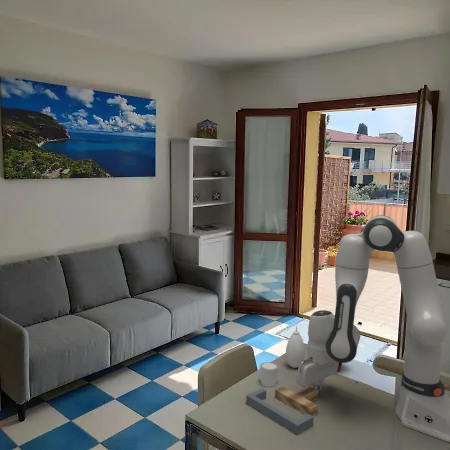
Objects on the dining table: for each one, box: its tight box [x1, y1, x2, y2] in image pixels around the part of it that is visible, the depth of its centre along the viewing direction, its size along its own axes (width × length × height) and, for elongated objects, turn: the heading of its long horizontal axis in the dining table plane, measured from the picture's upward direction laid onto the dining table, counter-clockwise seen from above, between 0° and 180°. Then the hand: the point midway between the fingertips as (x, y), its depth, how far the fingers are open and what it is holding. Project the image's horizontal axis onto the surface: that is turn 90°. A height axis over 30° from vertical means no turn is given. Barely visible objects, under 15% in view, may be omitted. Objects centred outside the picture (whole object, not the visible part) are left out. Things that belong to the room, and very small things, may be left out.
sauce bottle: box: [285, 325, 306, 369], centre depth 179 cm, size 8×8×18 cm
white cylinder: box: [259, 361, 279, 387], centre depth 165 cm, size 7×7×7 cm
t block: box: [274, 385, 319, 417], centre depth 153 cm, size 16×12×3 cm
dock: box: [245, 388, 315, 435], centre depth 145 cm, size 23×8×3 cm, turn 41°
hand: (316, 390), depth 158 cm, fingers closed
